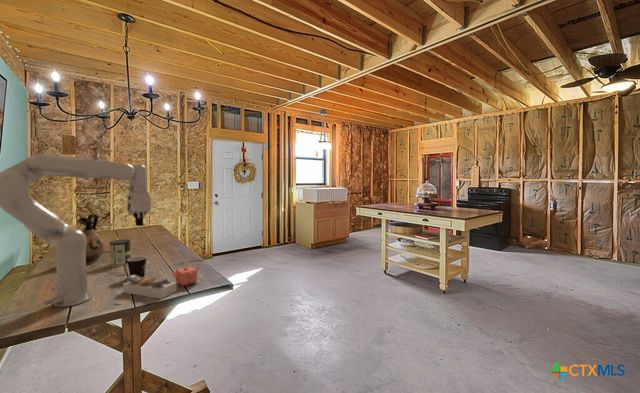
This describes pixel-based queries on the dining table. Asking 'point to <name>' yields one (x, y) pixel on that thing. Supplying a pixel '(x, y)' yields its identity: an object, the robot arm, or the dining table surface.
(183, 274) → the teapot
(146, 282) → the rocker
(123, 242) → the coffee can
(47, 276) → the dining table surface
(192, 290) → the dining table surface
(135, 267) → the coffee mug
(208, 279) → the dining table surface
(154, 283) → the rocker
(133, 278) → the rocker
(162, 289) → the power strip
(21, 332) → the dining table surface
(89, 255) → the ceramic jug
